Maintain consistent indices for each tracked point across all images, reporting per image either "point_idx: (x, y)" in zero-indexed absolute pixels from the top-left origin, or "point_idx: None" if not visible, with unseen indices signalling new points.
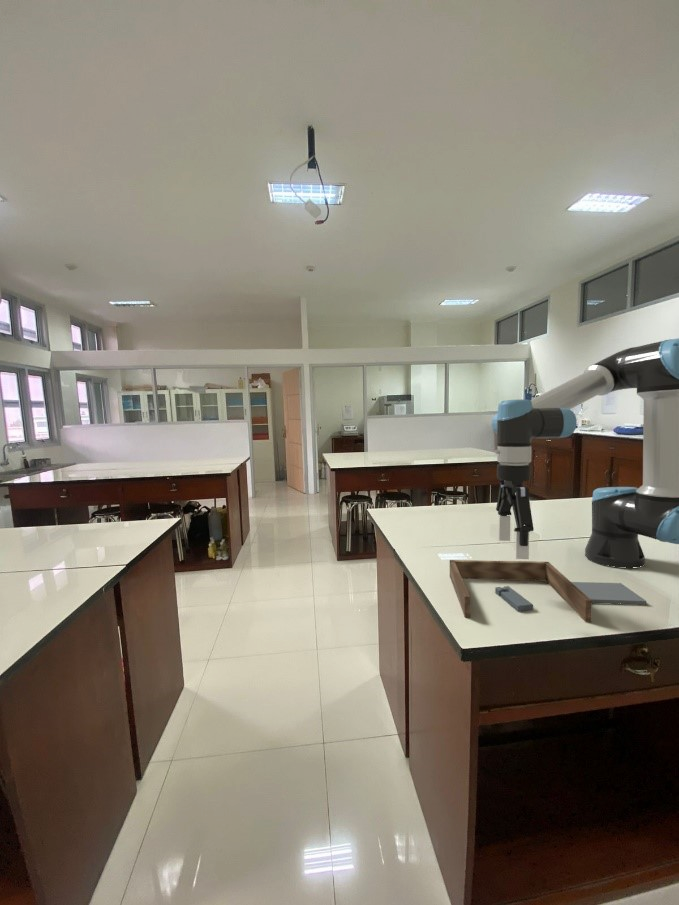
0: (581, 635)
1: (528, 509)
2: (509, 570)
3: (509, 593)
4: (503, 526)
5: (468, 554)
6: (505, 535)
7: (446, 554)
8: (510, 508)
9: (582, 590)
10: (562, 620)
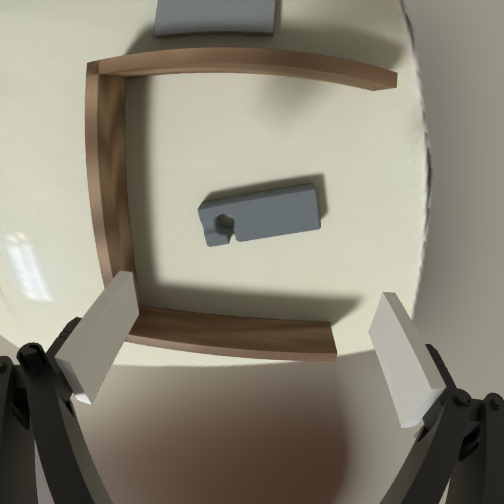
0: (420, 138)
1: (498, 497)
2: (113, 184)
3: (248, 224)
4: (107, 346)
5: (10, 235)
6: (124, 306)
7: (24, 282)
8: (65, 425)
9: (215, 10)
10: (363, 138)
